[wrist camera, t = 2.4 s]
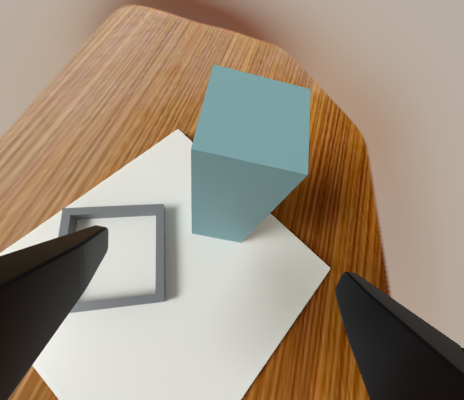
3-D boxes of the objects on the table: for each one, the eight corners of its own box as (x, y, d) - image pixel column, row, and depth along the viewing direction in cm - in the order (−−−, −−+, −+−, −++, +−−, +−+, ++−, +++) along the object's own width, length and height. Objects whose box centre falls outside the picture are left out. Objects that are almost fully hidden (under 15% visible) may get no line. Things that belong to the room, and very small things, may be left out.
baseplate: (324, 269, 22) (330, 268, 21) (157, 509, 15) (155, 524, 14) (178, 135, 25) (177, 128, 24) (-24, 278, 17) (-36, 277, 17)
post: (240, 242, 21) (307, 174, 9) (191, 233, 20) (191, 149, 8) (247, 197, 22) (310, 89, 10) (201, 188, 22) (213, 64, 10)
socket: (165, 301, 18) (163, 301, 17) (55, 314, 17) (45, 316, 16) (165, 208, 21) (163, 203, 20) (70, 213, 19) (62, 208, 18)
